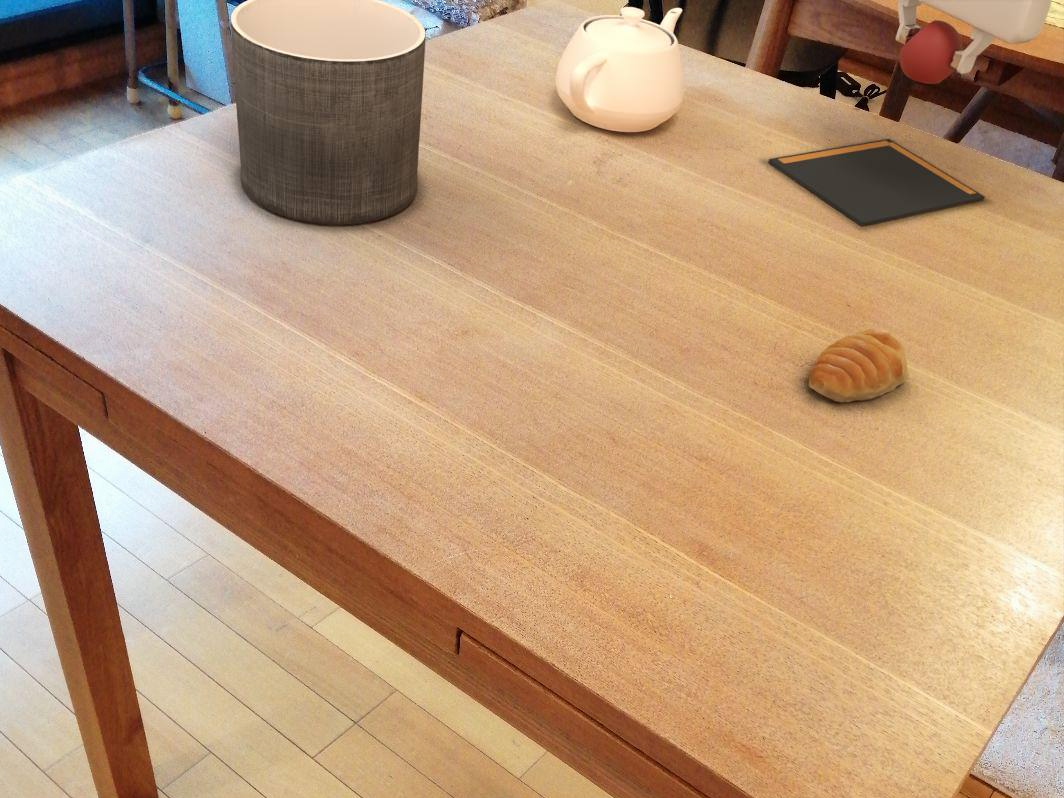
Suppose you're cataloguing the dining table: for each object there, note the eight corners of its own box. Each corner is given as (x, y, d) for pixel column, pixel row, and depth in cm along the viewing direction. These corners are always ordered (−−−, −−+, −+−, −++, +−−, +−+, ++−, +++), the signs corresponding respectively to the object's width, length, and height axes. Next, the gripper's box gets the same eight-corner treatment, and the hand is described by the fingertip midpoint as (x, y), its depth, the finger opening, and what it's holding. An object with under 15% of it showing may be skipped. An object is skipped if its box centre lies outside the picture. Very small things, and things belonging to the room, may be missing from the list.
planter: (323, 131, 120) (322, -22, 110) (451, 187, 114) (463, 31, 103) (202, 180, 109) (187, 15, 98) (338, 246, 103) (338, 78, 92)
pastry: (847, 420, 92) (861, 383, 90) (785, 380, 96) (797, 343, 93) (909, 385, 97) (924, 349, 95) (848, 348, 101) (861, 313, 98)
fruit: (916, 106, 114) (978, 51, 108) (883, 63, 114) (943, 5, 108) (940, 92, 118) (1001, 38, 111) (908, 51, 118) (967, -6, 111)
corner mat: (887, 142, 137) (889, 138, 137) (983, 200, 128) (985, 196, 127) (767, 162, 128) (769, 158, 128) (861, 226, 119) (863, 222, 119)
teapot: (623, 165, 123) (644, 54, 115) (509, 121, 128) (521, 12, 120) (717, 104, 139) (741, 3, 131) (613, 67, 144) (629, -32, 136)
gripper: (1094, -59, 100) (1029, 92, 109) (930, -122, 111) (884, 19, 121) (1050, -56, 97) (987, 99, 106) (886, -121, 109) (843, 24, 118)
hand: (931, 56), depth 114 cm, fingers closed on fruit, 6 cm apart
